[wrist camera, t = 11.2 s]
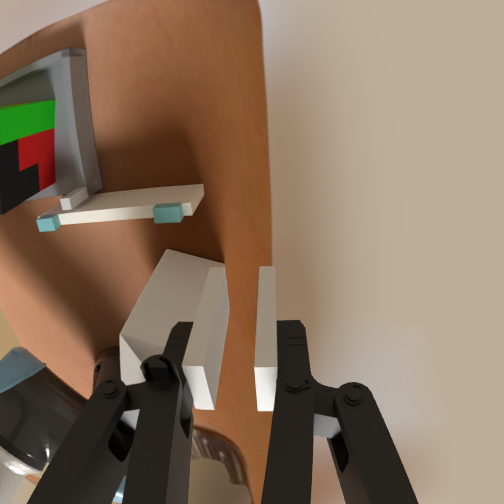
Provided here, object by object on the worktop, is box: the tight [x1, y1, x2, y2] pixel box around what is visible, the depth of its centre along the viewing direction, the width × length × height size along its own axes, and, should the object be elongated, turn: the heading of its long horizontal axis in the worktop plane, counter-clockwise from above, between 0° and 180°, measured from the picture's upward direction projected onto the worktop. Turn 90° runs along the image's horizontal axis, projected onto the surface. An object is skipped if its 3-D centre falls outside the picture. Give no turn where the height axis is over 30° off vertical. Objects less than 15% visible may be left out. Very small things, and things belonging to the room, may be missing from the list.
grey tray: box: [0, 47, 103, 210], centre depth 27 cm, size 16×20×7 cm
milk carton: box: [120, 249, 225, 385], centre depth 30 cm, size 7×7×19 cm
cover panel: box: [36, 184, 204, 232], centre depth 30 cm, size 1×18×7 cm, turn 93°
